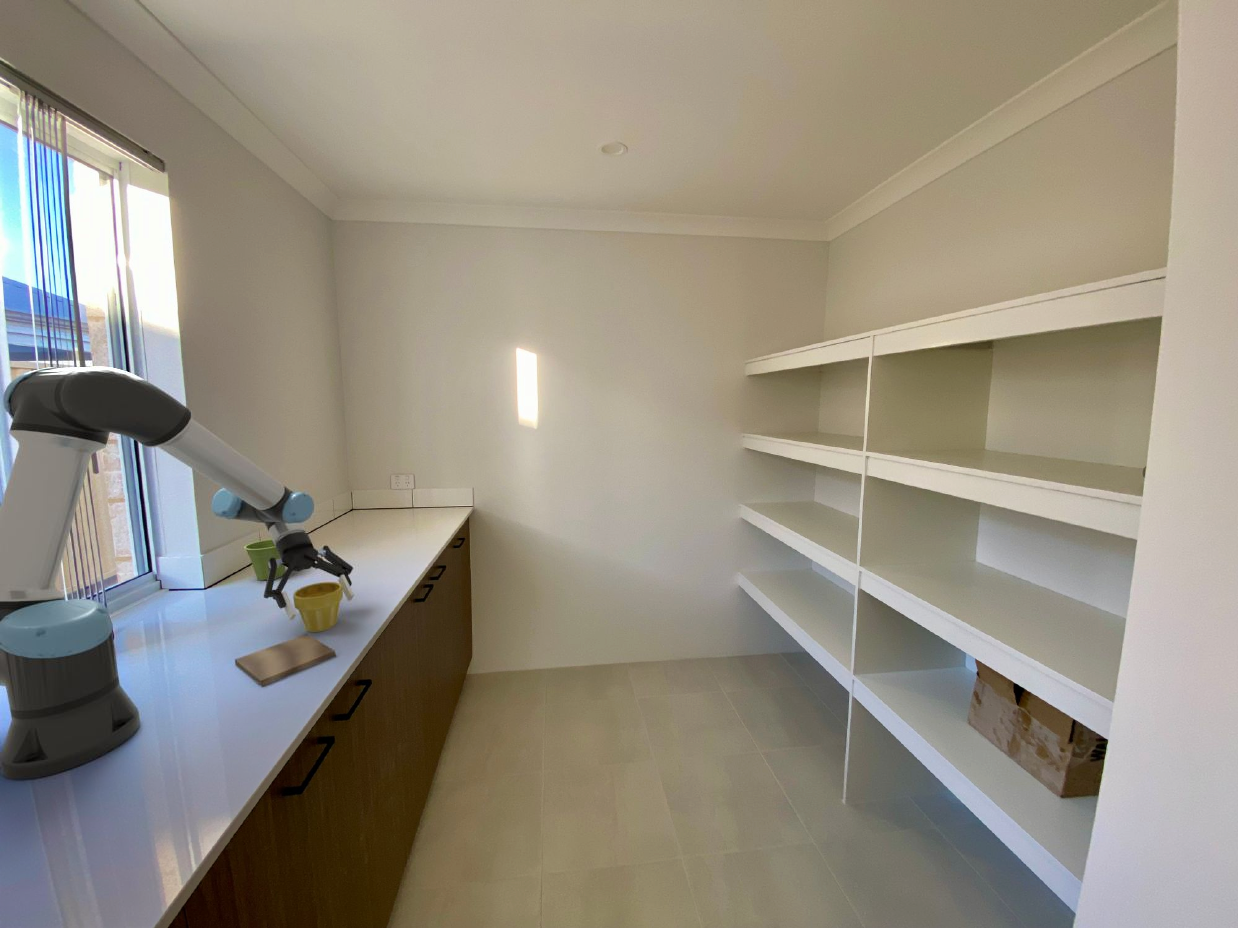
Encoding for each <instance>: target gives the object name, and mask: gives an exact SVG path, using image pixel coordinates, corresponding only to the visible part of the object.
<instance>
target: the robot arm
mask: <svg viewBox="0 0 1238 928" xmlns="http://www.w3.org/2000/svg"><path fill="white" fill-rule="evenodd" d="M2 397H3V398H2V402H3V408H4V410H5V412H6V413H8V415H9V416H10V418H11V419H12V421H11V425H10V428H9V431H8V434H9V435H10V436H11V437H12V438H13V439H14V440H15V441H17V442H18V445H19V446H18V449H17V452H16V454H15V455H16V456H15V458H14V462H13V465H12V468H11V472H10V475H9V478H8V480H7V484H6V487H5V489H4V493H3V497H2V501H1V502H0V686H2V687H5V689H6V695H7V700H8V705H9V711H10V716H11V717H10V718H11V721H10V725H9V727H8V731H7V734H6V737H5V740H4V743H3V746H2V749H1V752H0V770H1V774H2V776H3V777H4V778H6V779H9V780H29V779H31V780H32V779H37V778H41V777H42V778H43V777H47V776H52V775H54V774H57V773H58V774H59V773H61V772H65V771H67V770H71V769H73V768H76V767H78V766H81V765H83V764H85V763H88V762H91V761H93V760H95V759H97V758H99V757H101V756H103V755H105V754H107V753H108V752H111V751H112V750H114V749H116V748H117V747H119V746H120V745H121V744H124V742H126V741H128V740H129V739H130V738H131V737H132V736H133V735H134V734H135V733H136V732H137V730H138V729H139V727H140V725H141V719H140V712H139V710H138V709H139V708H138V707H137V706H136V705H135V703H134V702H133V700H132V699H131V697H130V696H129V695H128V694H127V692H125V690H124V688H123V687H122V686H121V684H120V679H119V678H120V677H119V671H118V663H117V657H116V655H117V654H116V649H115V643H114V635H113V628H114V624H113V621H112V619H111V616H110V613H109V610H108V608H107V607H106V605H105V604H104V603H102V602H100V601H97V600H93V599H89V598H88V599H86V598H85V599H84V598H72V599H68V600H65V593H63V592H62V591H61V590H60V589H58V587H56V582H57V578H58V574H59V571H60V567H61V564H62V561H63V557H64V553H65V549H66V546H67V543H68V539H69V536H70V533H71V529H72V526H73V522H74V519H75V518H74V517H75V515H76V511H77V508H78V504H79V500H80V496H81V494H82V489H83V486H84V483H85V479H86V476H87V473H88V468H89V465H90V461H91V459H92V455H93V454H95V453H97V452H98V451H101V450H103V449H105V448H106V446H107V443H108V440H109V437H110V434H111V433H112V434H116V435H119V436H124V437H127V438H130V439H132V440H134V441H136V442H138V443H139V444H141V445H142V446H145V448H158V449H160V450H162V451H163V452H165V453H167V454H168V455H170V456H172V457H173V458H175V459H176V460H178V461H180V462H181V463H182V464H184V465H186V466H188V467H189V468H191V469H192V470H194V471H196V472H197V473H199V474H200V475H202V476H204V477H205V478H207V479H208V480H210V481H212V482H213V483H215V484H216V485H218V486H220V487H221V489H219V490H218V491H216V493H215V494H214V496H213V498H212V502H211V510H212V513H213V514H214V515H215V516H216V517H218V518H222V519H223V518H224V519H227V520H238V521H244V522H255V523H261V524H264V525H265V526H266V527H265V528H266V529H267V531H268V534H269V536H270V537H271V538H270V539H272V540H273V542H274V544H275V545H276V549H277V551H278V553H279V556H280V557H281V559H275V558H271V559H270V560H269V563H268V569H269V574H268V579H267V580H266V585H265V589H264V593H263V598H264V599H269V598H272V599H273V600H274V601H275V602H276V604H277V606H278V608H279V609H280V610H281V609H284V611H285V614H286V615H287V618H288V620H289V621H292V620H294V619H295V617H296V615H297V612H296V611H295V607H293V606H294V605H293V604H292V602H291V600H290V597H289V594H288V592H287V591H286V590H284V588H285V587H286V584H287V582H288V581H289V579H290V577H291V575H292V573H293V572H297V573H298V572H302V571H303V570H310V569H312V568H314V569H316V570H321V571H323V572H326V573H328V574H330V575H332V576H335V577H337V578H338V582H337V583H340V584H341V585H342V590H343V595H344V596H345V597H346V600H347V601H348V602H349V601H352V600H353V597H354V596H355V594H354V592H353V589H352V587H351V586H352V585H353V583H352V581H351V578H350V576H349V575H351V573H352V571H353V569H354V567H353V566H352V565H351V564H349V563H348V562H347V561H345V560H344V559H343V558H341V557H340V556H338V555H337V554H336V553H334V552H333V551H332V550H331V549H330V547H329V546H328V545H324V546H323V547H322V548H319V549H316V548H315V547H314V545H313V542H312V540H311V538H310V536H309V535H308V534H309V533H307V529H306V528H305V526H304V522H306V521H308V520H309V519H310V518H311V516H312V515H313V513H314V510H315V502H314V499H313V497H312V496H311V495H310V494H308V493H306V492H302V491H300V490H299V491H293V490H291V489H289V488H288V487H287V486H285V485H284V484H282V483H281V482H280V481H278V480H277V479H276V478H275V477H273V476H271V475H270V474H269V473H267V472H266V471H264V470H263V469H262V468H261V467H259V466H258V465H256V464H255V463H254V462H252V461H251V460H250V459H248V458H247V457H245V455H243V454H241V453H240V452H239V451H237V450H236V449H234V448H233V447H231V446H230V445H229V444H227V442H225V441H224V440H223V439H221V438H219V437H218V436H217V435H215V434H214V433H213V432H211V431H210V430H208V428H206V427H204V426H203V425H202V424H200V423H199V422H198V421H196V419H195V420H194V418H193V412H192V410H191V409H189V408H188V407H186V406H185V405H184V404H182V403H181V402H180V401H178V400H177V399H176V398H175V397H173V396H171V395H170V394H169V393H167V392H165V391H164V390H162V389H161V388H159V387H157V386H156V385H154V384H153V383H151V382H149V381H147V380H145V379H143V378H142V377H141V376H137V375H136V374H133V373H131V372H128V371H125V370H122V369H118V368H114V367H110V366H109V367H108V366H89V367H87V366H85V367H65V366H53V367H52V366H50V367H43V368H39V369H36V370H30V371H27V372H25V373H22V374H21V375H19V376H16V378H14V379H13V380H11V382H10V383H9V384H8V385H7V387H6V388H5V390H4V393H3V396H2ZM318 555H319V556H318ZM324 559H325V560H324ZM280 564H282V565H283V566H285V568H287V569H285V573H284V575H283V576H282V578H281V580H280V582H279V583H278V585H277V587H276V589H273V587H274V583H275V574H276V570H277V568H278V567H279V565H280ZM283 590H284V591H283Z"/></svg>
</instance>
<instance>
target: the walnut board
mask: <svg viewBox="0 0 1238 928" xmlns="http://www.w3.org/2000/svg"><path fill="white" fill-rule="evenodd" d="M333 657H336V650H334V649H333V648H331V647H329V646H328V645H326V644H324V643H323V642H321V641H319V640H318V639H317V638H314V637H312V636H311V635H310V634H308V633H304V634H302V635H299V636H296V637H294V638H292V639H289V640H288V639H287V640H286V641H283V642H280V643H277V644H274V645H271V646H269V647H267V648H264V649H263V648H262V649H261V650H258V651H255V652H252V653H249V654H247V655H244V656H241V657H239V658H236V659H234V663H235V666H236V667H237V668H238V669H240V670H241V671H242V672H243V673H245V674H246V675H247V676H248V677H249V678H251V679H252V680H253V681H254V682H255V683H257V684H258V685H259V686H260V687H264V686H266V685H269V684H270V683H271V684H272V682H275V681H278V680H280V679H282V678H285V677H287V676H290V675H292V674H295V673H297V672H299V671H300V672H301V671H302V670H304V669H306V668H309V667H312V666H314V665H317V664H319V663H322V662H324V661H326V660H329V659H331V658H333Z"/></svg>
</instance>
